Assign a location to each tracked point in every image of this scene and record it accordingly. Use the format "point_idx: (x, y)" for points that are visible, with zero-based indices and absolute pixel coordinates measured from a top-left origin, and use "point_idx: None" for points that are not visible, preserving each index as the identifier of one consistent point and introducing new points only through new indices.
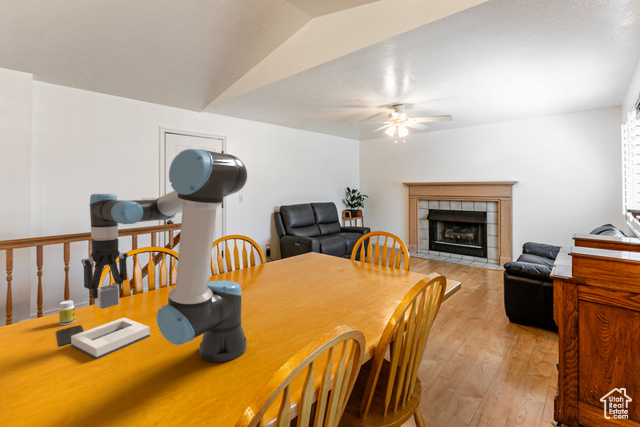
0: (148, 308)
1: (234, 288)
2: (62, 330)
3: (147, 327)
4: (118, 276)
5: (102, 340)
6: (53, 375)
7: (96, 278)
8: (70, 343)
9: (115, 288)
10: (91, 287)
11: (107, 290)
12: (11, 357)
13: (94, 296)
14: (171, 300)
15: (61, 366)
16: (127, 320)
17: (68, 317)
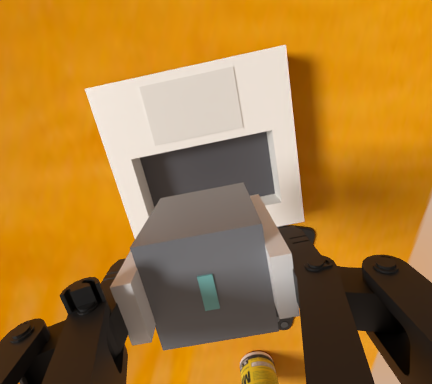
0: (52, 318)
1: None
2: (281, 319)
3: (92, 89)
4: (70, 362)
5: (249, 102)
6: (383, 49)
7: (364, 355)
8: (291, 225)
9: (152, 243)
10: (367, 265)
11: (219, 230)
12: (402, 249)
13: (298, 234)
14: None
15: (352, 92)
16: (137, 217)
17: (261, 370)
